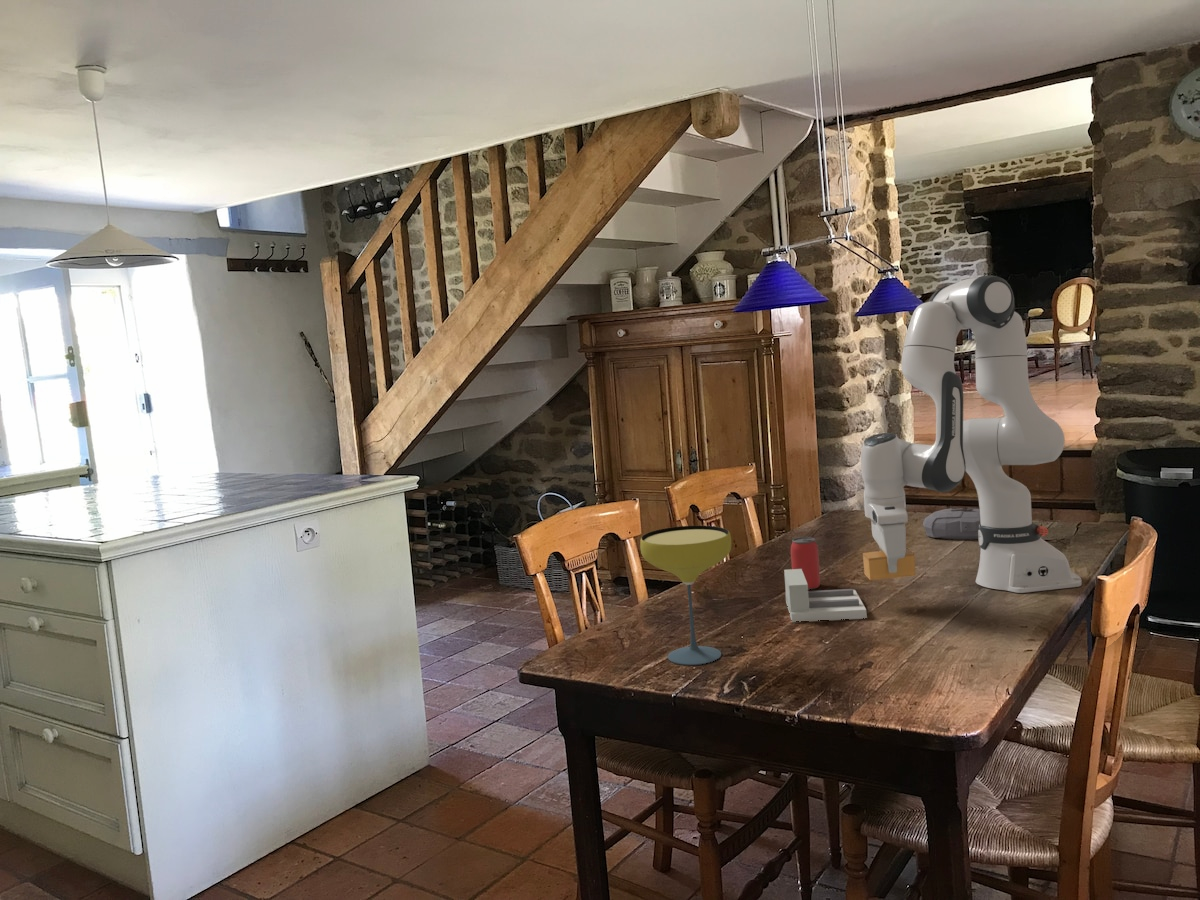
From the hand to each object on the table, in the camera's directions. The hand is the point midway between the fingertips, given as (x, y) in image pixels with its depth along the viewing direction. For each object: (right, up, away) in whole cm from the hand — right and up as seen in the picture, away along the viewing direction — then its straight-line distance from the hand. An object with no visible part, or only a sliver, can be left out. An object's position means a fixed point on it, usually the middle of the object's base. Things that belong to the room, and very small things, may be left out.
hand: (889, 567), depth 210 cm
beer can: (-14, -8, +22) cm, 27 cm away
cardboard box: (0, -2, 0) cm, 2 cm away
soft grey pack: (+39, +1, +62) cm, 74 cm away
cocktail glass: (-46, -16, -21) cm, 53 cm away
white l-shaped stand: (-14, -10, +2) cm, 17 cm away
